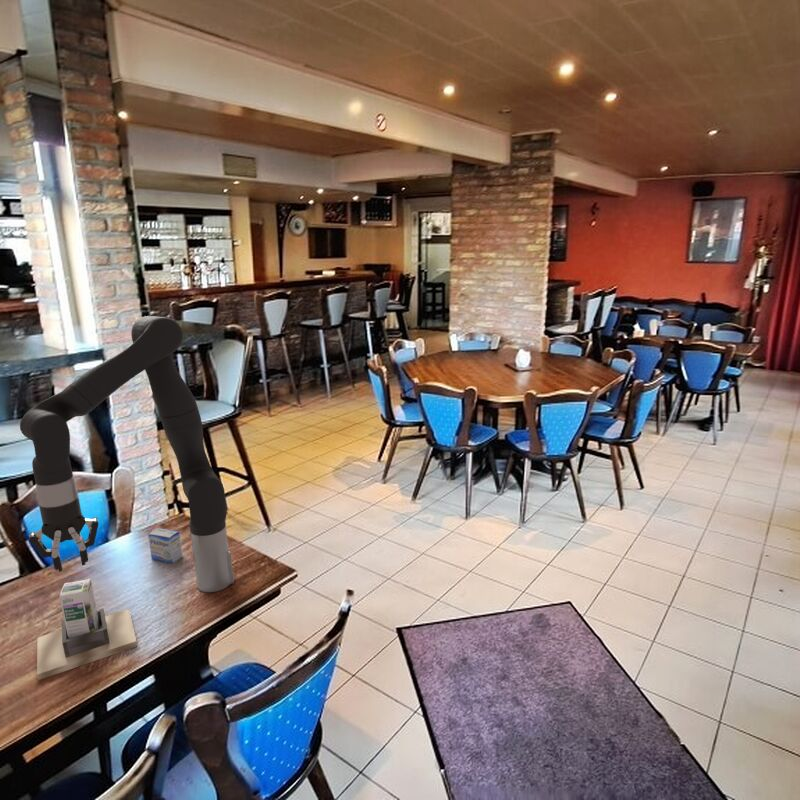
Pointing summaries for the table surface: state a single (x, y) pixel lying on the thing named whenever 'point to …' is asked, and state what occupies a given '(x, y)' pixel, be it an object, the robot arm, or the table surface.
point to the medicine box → (165, 545)
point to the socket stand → (84, 644)
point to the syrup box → (79, 608)
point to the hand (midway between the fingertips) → (72, 566)
